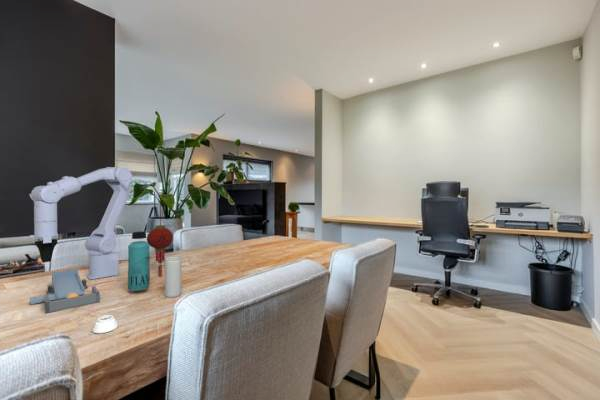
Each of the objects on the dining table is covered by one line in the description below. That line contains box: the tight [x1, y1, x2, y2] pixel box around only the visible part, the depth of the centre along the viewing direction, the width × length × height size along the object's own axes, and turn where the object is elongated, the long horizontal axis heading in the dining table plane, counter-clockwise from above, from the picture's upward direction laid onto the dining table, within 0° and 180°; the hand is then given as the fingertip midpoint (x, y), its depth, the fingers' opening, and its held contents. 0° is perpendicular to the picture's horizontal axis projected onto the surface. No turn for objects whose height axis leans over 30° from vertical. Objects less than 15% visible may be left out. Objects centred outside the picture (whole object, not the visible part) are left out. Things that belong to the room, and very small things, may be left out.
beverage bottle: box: [127, 231, 151, 292], centre depth 93 cm, size 6×7×20 cm
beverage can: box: [164, 256, 182, 299], centre depth 90 cm, size 5×5×12 cm
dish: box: [43, 285, 101, 314], centre depth 83 cm, size 12×9×3 cm
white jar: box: [91, 314, 119, 334], centre depth 67 cm, size 5×3×5 cm
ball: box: [65, 293, 80, 299], centre depth 82 cm, size 3×3×3 cm
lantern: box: [146, 200, 174, 278], centre depth 110 cm, size 10×10×30 cm
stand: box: [45, 278, 89, 295], centre depth 93 cm, size 10×4×3 cm, turn 134°
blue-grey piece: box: [29, 268, 86, 305], centre depth 91 cm, size 13×18×3 cm
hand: (46, 261), depth 94 cm, fingers closed
